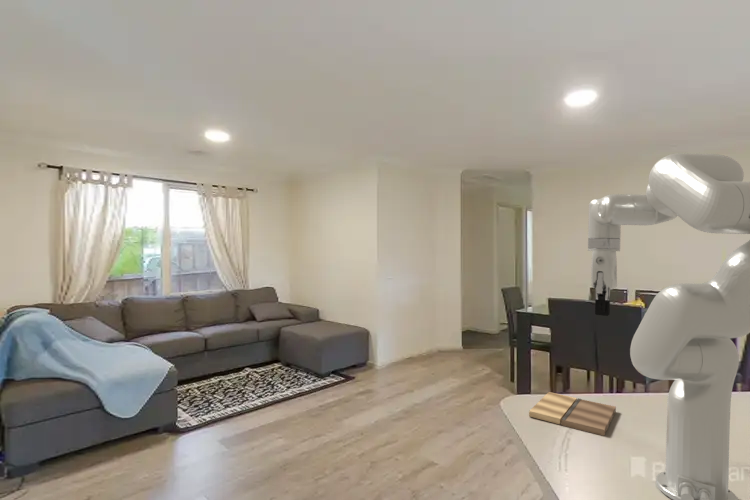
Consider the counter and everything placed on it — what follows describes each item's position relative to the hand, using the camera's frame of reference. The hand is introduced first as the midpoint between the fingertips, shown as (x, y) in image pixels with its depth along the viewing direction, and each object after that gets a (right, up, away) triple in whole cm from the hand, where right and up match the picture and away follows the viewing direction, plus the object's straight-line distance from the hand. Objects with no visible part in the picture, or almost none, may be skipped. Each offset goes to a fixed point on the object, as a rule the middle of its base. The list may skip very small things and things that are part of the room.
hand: (602, 314), depth 112 cm
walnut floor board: (-1, -29, +4) cm, 29 cm away
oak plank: (-9, -29, +10) cm, 32 cm away
